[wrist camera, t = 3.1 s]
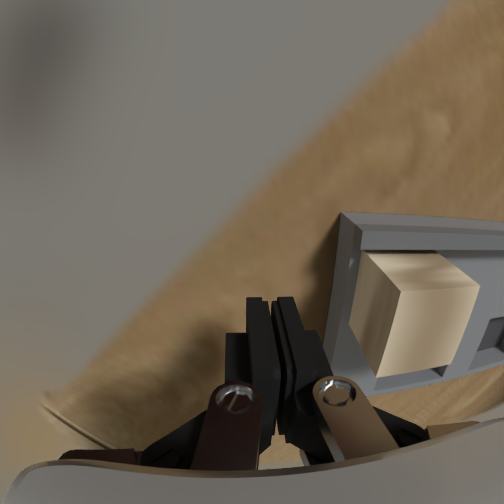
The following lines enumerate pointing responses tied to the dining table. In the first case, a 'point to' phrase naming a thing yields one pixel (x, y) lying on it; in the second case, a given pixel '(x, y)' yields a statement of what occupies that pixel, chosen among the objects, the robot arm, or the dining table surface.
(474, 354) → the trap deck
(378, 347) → the ash cube
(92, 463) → the robot arm
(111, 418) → the dining table surface
